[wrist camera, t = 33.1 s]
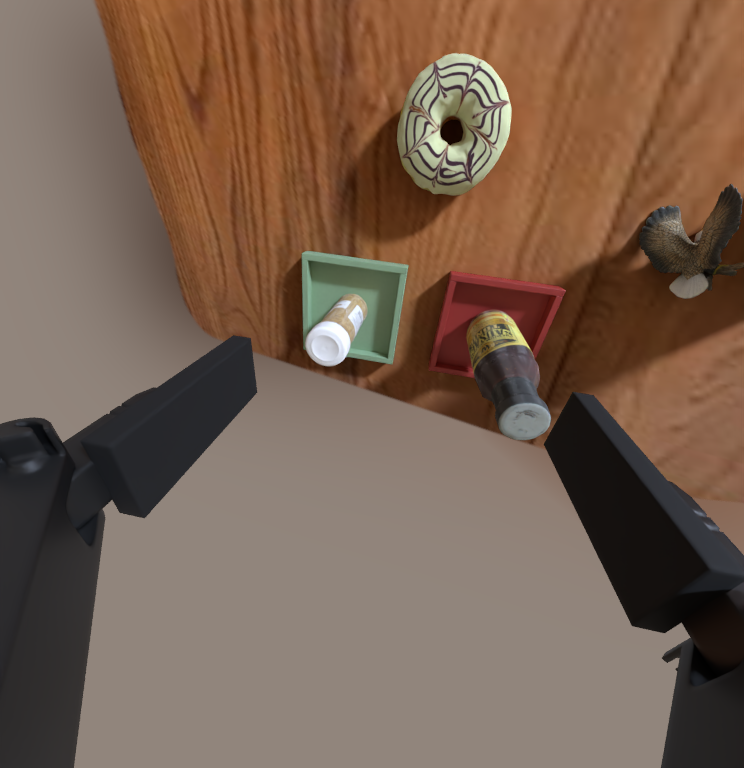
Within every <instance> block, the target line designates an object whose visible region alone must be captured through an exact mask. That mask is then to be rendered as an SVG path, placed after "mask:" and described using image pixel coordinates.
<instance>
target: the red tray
mask: <svg viewBox="0 0 744 768" xmlns="http://www.w3.org/2000/svg"><path fill="white" fill-rule="evenodd" d="M565 291H566V290H564V289H563V288H561V287H560V286H554V285H547V284H539V283H532V282H525V281H518V280H511V279H504V278H497V277H490V276H483V275H475V274H468V273H461V272H454V271H450V274H449V279H448V283H447V287H446V292H445V296H444V300H443V304H442V309H441V313H440V317H439V322H438V326H437V330H436V335H435V339H434V343H433V347H432V352H431V356H430V360H429V370H430V371H436V372H442V373H448V374H454V375H460V376H466V377H472V378H475V377H474V373H473V368H472V363H471V358H470V353H469V348H468V344H467V338H466V337H467V329H468V327H469V324H470V323H471V321H472V320H473V318H474V317H475V316H476V315H478V314H479V313H481V312H484V311H488V310H500V311H502V312H505V313H506V314H508V315H509V316H510V317H511V318H512V319H513V321H514V322H515V324H516V326H517V327H518V329H519V331H520V332H521V334H522V336H523V337H524V339H525V341H526V342H527V344H528V346H529V348H530V350H531V351H532V353H533V355H534V359H536V357H537V355H538V353H539V350H540V348H541V346H542V344H543V341H544V339H545V337H546V335H547V332H548V330H549V328H550V326H551V323H552V321H553V319H554V317H555V314H556V312H557V310H558V308H559V305H560V303H561V301H562V298H563V296H564V294H565Z"/></svg>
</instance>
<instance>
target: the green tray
mask: <svg viewBox="0 0 744 768" xmlns="http://www.w3.org/2000/svg"><path fill="white" fill-rule="evenodd" d="M407 271H408V265H404V264H397V263H390V262H383V261H376V260H369V259H362V258H354V257H347V256H340V255H333V254H326V253H319V252H312V251H306V252H303V253H302V298H303V349H304V350H306V347H305V341H306V337H307V335H308V333H309V332H310V331H311V330H312V328H313V327H314V326H315V325H317V324H318V323H320V322H321V321H322V320H323V318H324V317H325V316H326V315H327V314H328V313H329V311H330V310H331V309H332V308H333V307H334V305H335V304H337V302H338V300H339V299H340V298H341V297H342V296H344V295H346V294H356V295H359V296H360V297H361V298H362V299H363V300H364V301H365V303H366V305H367V310H368V311H367V316H366V318H365V320H364V321H363V322H362V325H361V327H360V329H359V331H358V333H357V335H356V336H355V338H354V340H353V342H352V343H351V344H350V349H349V352H348V354H347V355H346V357H351V358H357V359H363V360H369V361H375V362H381V363H387V364H392V363H393V358H394V352H395V346H396V340H397V333H398V327H399V321H400V315H401V308H402V302H403V296H404V290H405V283H406V277H407Z"/></svg>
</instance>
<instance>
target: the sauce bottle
mask: <svg viewBox="0 0 744 768" xmlns="http://www.w3.org/2000/svg"><path fill="white" fill-rule="evenodd" d="M466 338H467V344H468V348H469V353H470V358H471V363H472V368H473V373H474V377H475V380H476V382H477V384H478V387H479V389H480V392H481V394H482V396H483V397H484V398H486V399H488V400H490V401H492V402H493V404H494V405H495V409H496V412H495V418H496V421H497V424H498V427H499V429H500V431H501V432H502V433H503V434H504V435H505V436H507V437H509V438H512V439H515V440H529V439H533V438H535V437H537V436H539V435H541V434H543V433H544V432H545V431H546V430H547V429H548V427H549V426H550V422H551V416H550V413H549V410H548V407H547V405H546V404H545V402H544V401H542V399H540V398H539V396H538V394H537V390H536V389H537V387H538V385H539V380H540V373H539V367H538V364H537V362H536V361H535V359H534V355H533V353H532V351H531V350H530V348H529V346H528V344H527V342H526V341H525V339H524V337H523V336H522V334H521V332H520V331H519V329H518V327H517V326H516V324H515V322H514V321H513V319H512V318H511V317H510V316H509V315H508V314H506V313H505V312H502V311H500V310H488V311H484V312H481V313H479V314H478V315H476V316H475V317H474V318H473V320H472V321H471V323H470V324H469V327H468V329H467V337H466Z"/></svg>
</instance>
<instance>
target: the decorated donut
mask: <svg viewBox="0 0 744 768" xmlns="http://www.w3.org/2000/svg"><path fill="white" fill-rule="evenodd" d="M450 119H451V120H459V121H460V122H461V125H462V128H463V137H462V140H461V141H460V142H458V143H453V144H451V145H449V144H448V143H447V142H446V141H444V140H442V138H441V136H440V130H441V128H442V126H443V125H444V124H445V123H446V122H447V121H449V120H450ZM510 122H511V104H510V100H509V98H508V93H507V90H506V87H505V85H504V84H503V82H502V80H501V79H500V78H499V76H498V74H497V73H496V72H495V71H494V70H493V68H492V67H491V66H490V65H488V64H487V63H486V62H484V61H483V60H480V59H477V58H476V57H474V56H471V55H468V54H456V53H454V54H449V55H447V56H443V57H442V58H441V59H439V60H437V61H436V62H434V63H432V64H430V65H429V66H428V67H427V68H425V70H424V71H422V72H421V73H419V74H418V77H417V78H416V79H415V81H414V83H413V84H412V86H411V88H410V90H409V92H408V94H407V96H406V99H405V102H404V105H403V108H402V110H401V113H400V120H399V124H398V131H397V143H398V149H399V153H400V159H401V163H402V165H403V167H404V169H405V170H406V171H407V172H408V173H409V175H410V176H411V178H412V180H413V181H414V182H415V183H416V185H418V186H419V187H421V188H422V189H425V190H428V191H431V192H432V193H433V194H447V195H452V196H455V195H461V194H464V193H466V192H468V191H469V190H470V189H472V188H473V187H474V186H475V185H476V184H478V183H479V182H480V181H482V180H483V179H484V177H485V176H486V175H487V174H488V173H489V171H490V170H491V169H492V168H493V166H494V165H495V163H496V162H497V161H498V159H499V157H500V155H501V153H502V151H503V149H504V147H505V145H506V142H507V139H508V136H509V132H510Z"/></svg>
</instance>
